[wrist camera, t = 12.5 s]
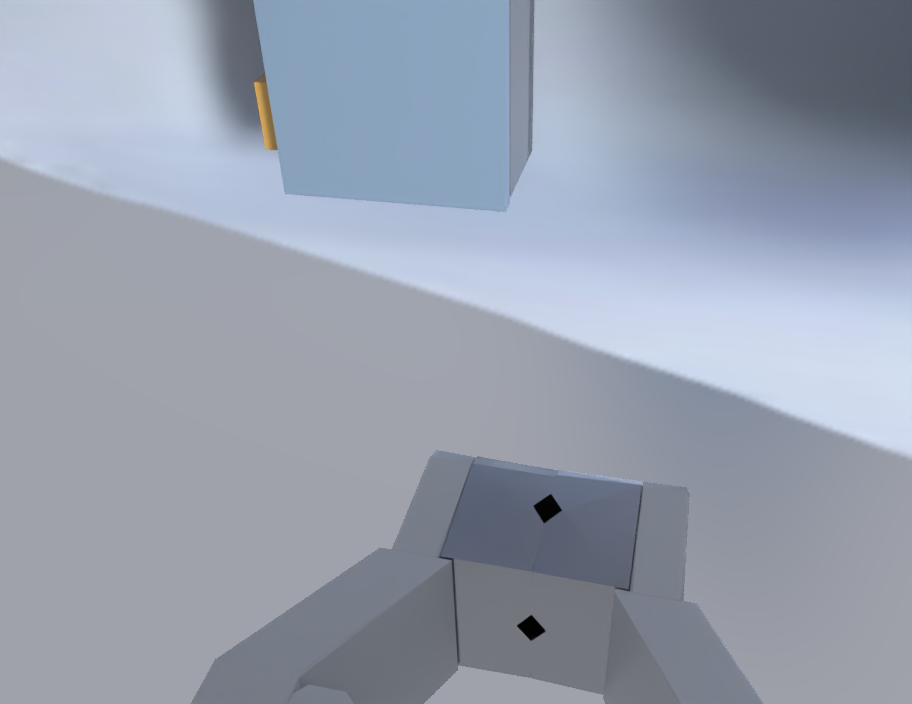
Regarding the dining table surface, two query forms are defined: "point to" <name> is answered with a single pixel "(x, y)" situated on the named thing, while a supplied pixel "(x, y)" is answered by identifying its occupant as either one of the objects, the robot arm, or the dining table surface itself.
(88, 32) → the dining table surface
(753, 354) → the dining table surface
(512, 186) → the grey rectangular open box
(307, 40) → the cover
